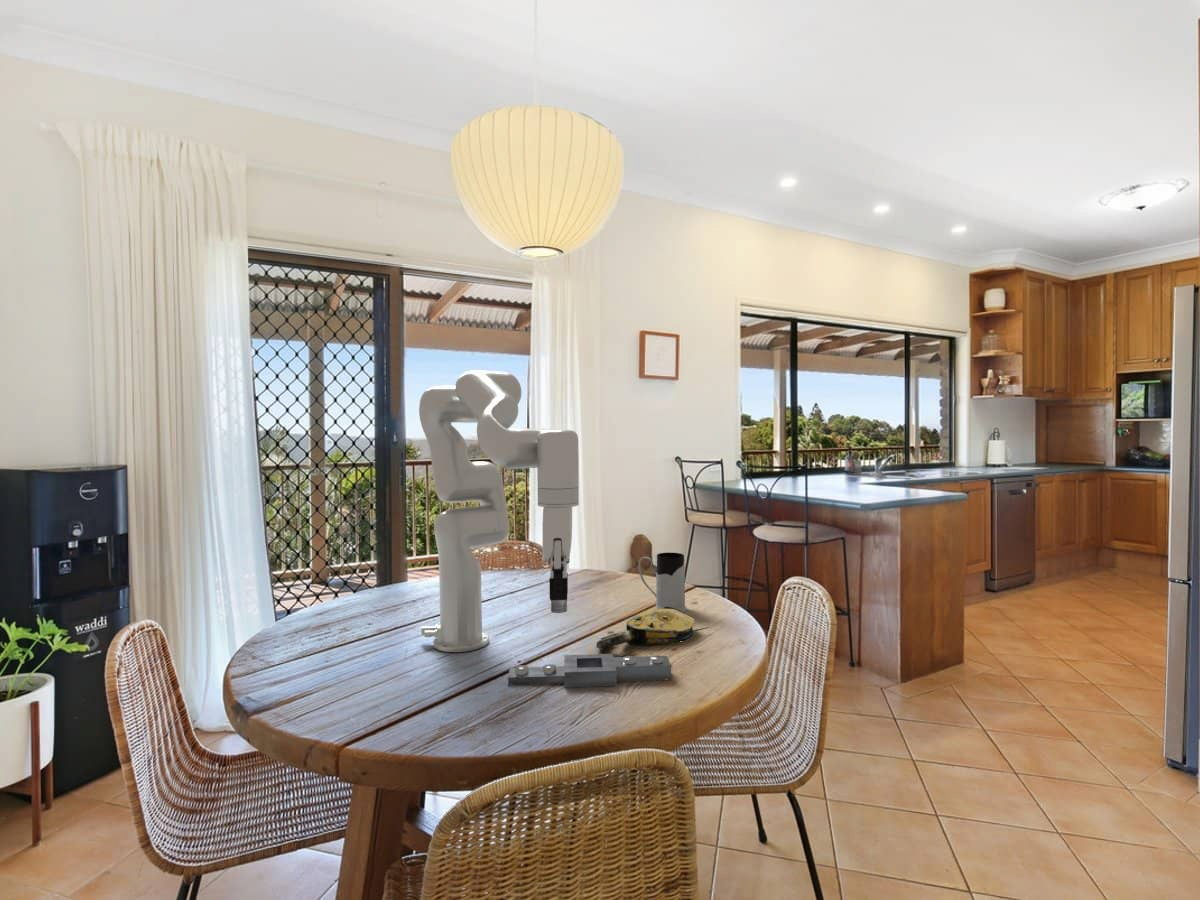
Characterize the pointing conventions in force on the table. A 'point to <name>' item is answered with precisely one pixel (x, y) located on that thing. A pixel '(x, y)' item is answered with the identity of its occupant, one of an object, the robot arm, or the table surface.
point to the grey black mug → (668, 581)
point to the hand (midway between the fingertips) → (558, 596)
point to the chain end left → (552, 677)
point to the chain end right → (617, 667)
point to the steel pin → (559, 605)
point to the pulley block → (653, 629)
